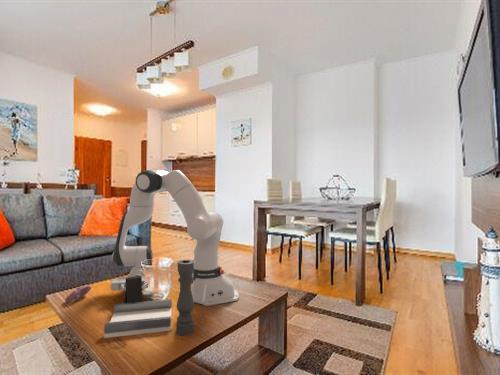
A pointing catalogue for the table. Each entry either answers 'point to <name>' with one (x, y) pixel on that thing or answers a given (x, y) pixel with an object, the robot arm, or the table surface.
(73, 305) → the table surface
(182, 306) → the candle holder
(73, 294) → the video game controller
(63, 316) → the table surface
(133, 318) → the track base
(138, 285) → the phone stand
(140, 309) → the track rails
